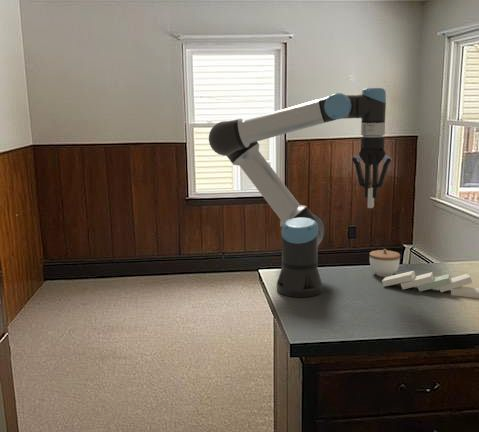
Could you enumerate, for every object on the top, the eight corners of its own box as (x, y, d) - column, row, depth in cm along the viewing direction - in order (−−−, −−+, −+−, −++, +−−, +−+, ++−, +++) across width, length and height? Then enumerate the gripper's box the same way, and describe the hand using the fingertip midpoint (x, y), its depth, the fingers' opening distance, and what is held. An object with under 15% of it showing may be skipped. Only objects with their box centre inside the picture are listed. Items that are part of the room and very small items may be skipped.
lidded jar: (403, 272, 192) (404, 247, 190) (394, 280, 183) (395, 254, 181) (374, 268, 197) (375, 244, 196) (364, 276, 189) (365, 250, 187)
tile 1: (381, 281, 176) (410, 274, 171) (385, 277, 181) (413, 270, 175) (383, 286, 176) (412, 280, 171) (387, 282, 181) (415, 276, 175)
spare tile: (417, 285, 171) (448, 278, 167) (418, 281, 175) (448, 273, 171) (419, 291, 171) (450, 284, 167) (420, 287, 175) (451, 279, 171)
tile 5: (451, 290, 167) (485, 293, 163) (451, 285, 171) (485, 288, 167) (450, 296, 167) (485, 299, 163) (451, 291, 172) (485, 294, 168)
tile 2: (400, 284, 173) (430, 276, 168) (402, 279, 177) (432, 272, 173) (402, 289, 173) (432, 282, 168) (404, 285, 177) (434, 277, 173)
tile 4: (438, 286, 168) (470, 276, 166) (436, 283, 173) (466, 273, 171) (441, 292, 169) (472, 282, 166) (438, 288, 173) (468, 279, 171)
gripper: (350, 136, 171) (348, 207, 176) (390, 136, 166) (388, 210, 170) (355, 136, 178) (354, 204, 182) (395, 136, 172) (392, 206, 177)
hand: (370, 207), depth 176 cm, fingers closed
